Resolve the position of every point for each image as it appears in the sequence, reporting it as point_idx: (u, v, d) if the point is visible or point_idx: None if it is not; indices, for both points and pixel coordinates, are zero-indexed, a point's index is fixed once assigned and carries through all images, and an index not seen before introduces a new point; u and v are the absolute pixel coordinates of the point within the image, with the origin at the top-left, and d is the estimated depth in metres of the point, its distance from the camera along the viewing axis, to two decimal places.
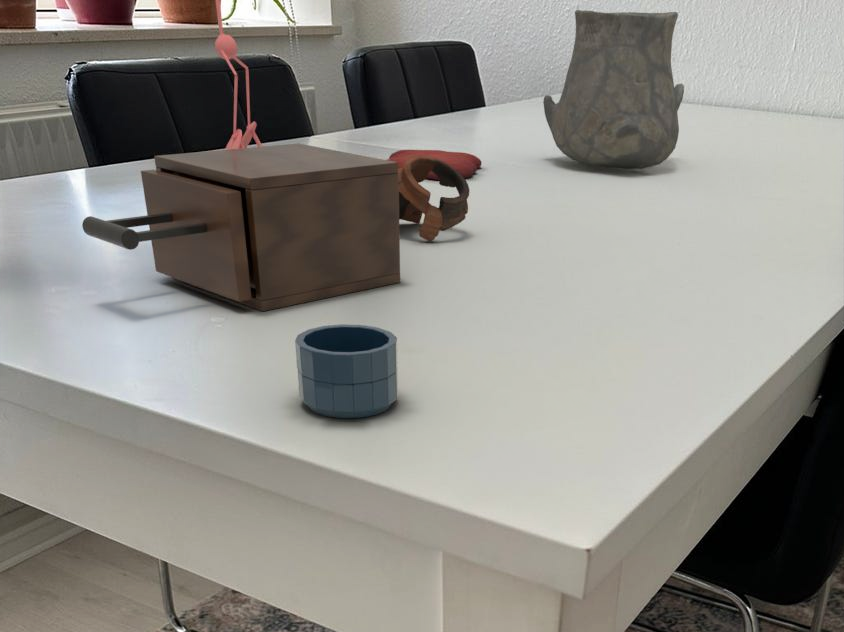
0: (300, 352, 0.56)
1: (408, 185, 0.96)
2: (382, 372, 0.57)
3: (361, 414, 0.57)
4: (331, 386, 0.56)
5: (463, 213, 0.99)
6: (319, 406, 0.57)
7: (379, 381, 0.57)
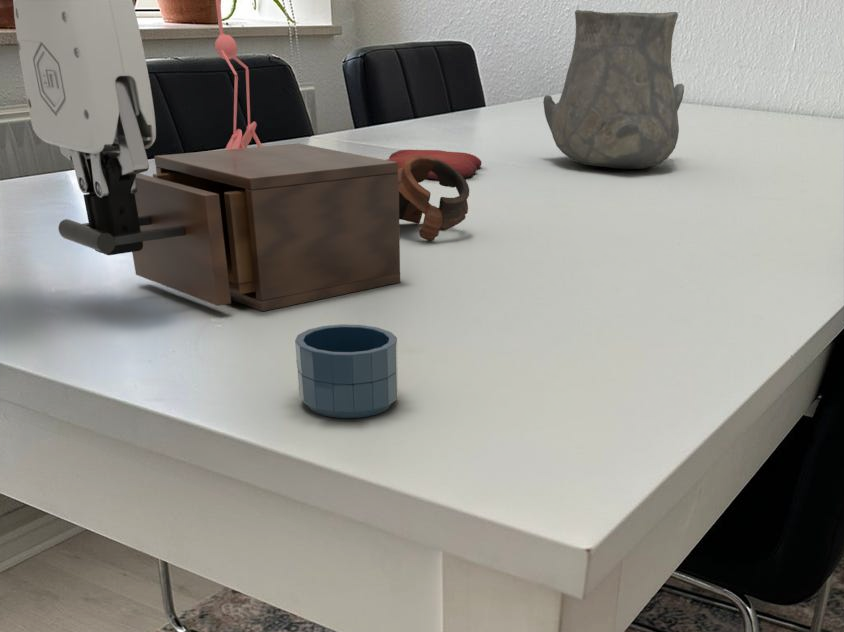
0: (300, 352, 0.56)
1: (408, 185, 0.96)
2: (382, 372, 0.57)
3: (361, 414, 0.57)
4: (331, 386, 0.56)
5: (463, 213, 0.99)
6: (319, 406, 0.57)
7: (379, 381, 0.57)
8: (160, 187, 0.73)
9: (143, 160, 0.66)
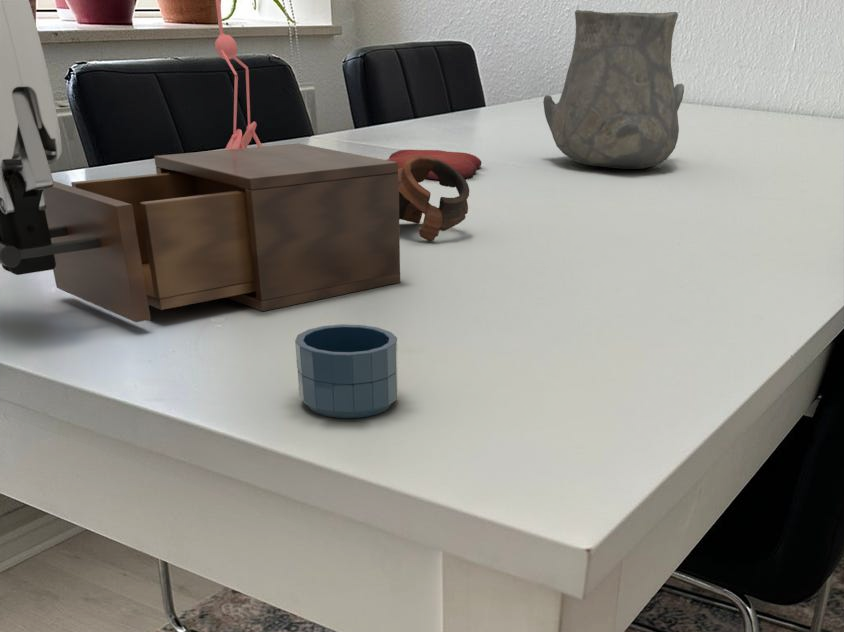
0: (300, 352, 0.56)
1: (408, 185, 0.96)
2: (382, 372, 0.57)
3: (361, 414, 0.57)
4: (331, 386, 0.56)
5: (463, 213, 0.99)
6: (319, 406, 0.57)
7: (379, 381, 0.57)
8: (73, 196, 0.68)
9: (47, 176, 0.62)
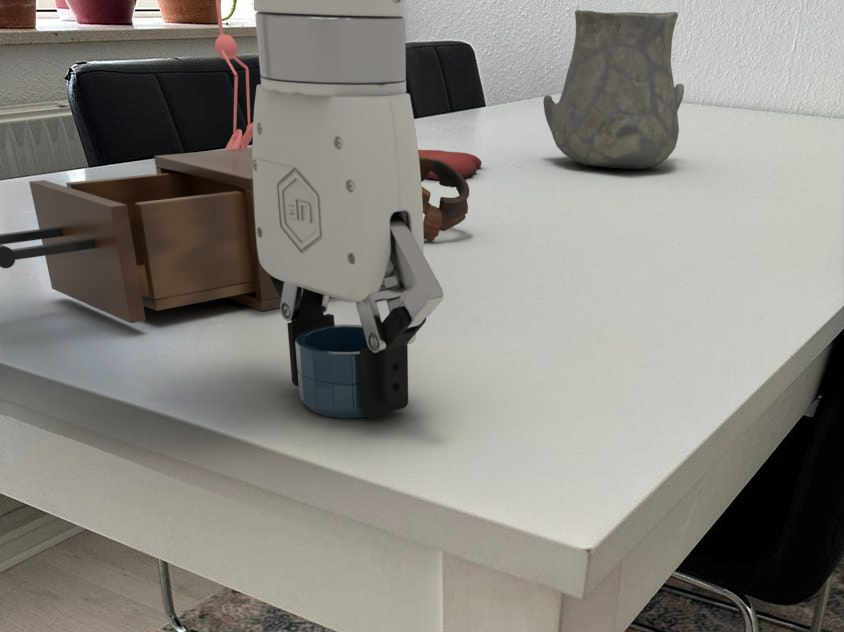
0: (300, 352, 0.56)
1: None
2: None
3: (361, 414, 0.57)
4: (331, 386, 0.56)
5: (463, 213, 0.99)
6: (319, 406, 0.57)
7: None
8: (68, 197, 0.68)
9: (436, 286, 0.51)
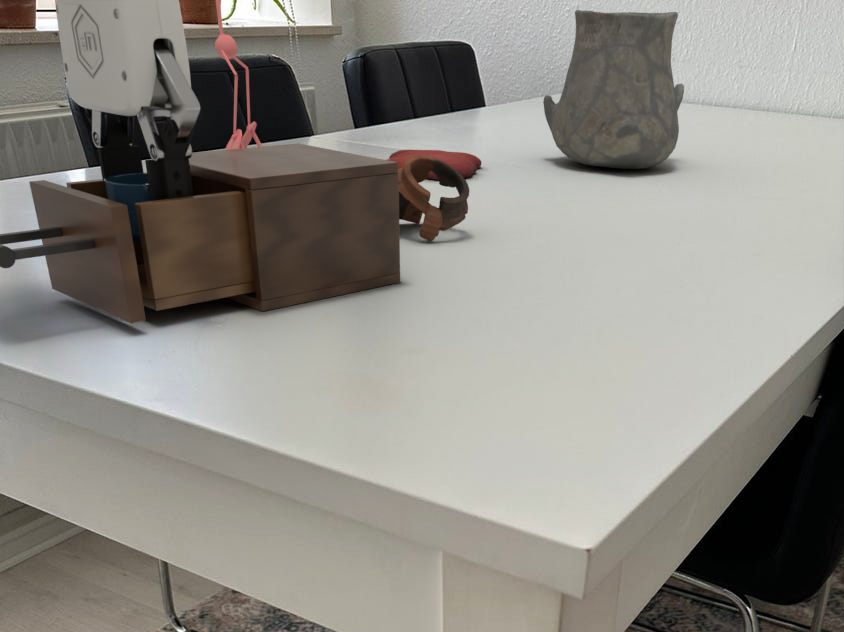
0: (106, 186, 0.70)
1: (408, 185, 0.96)
2: None
3: None
4: (130, 213, 0.70)
5: (463, 213, 0.99)
6: None
7: None
8: (68, 197, 0.68)
9: (193, 99, 0.64)
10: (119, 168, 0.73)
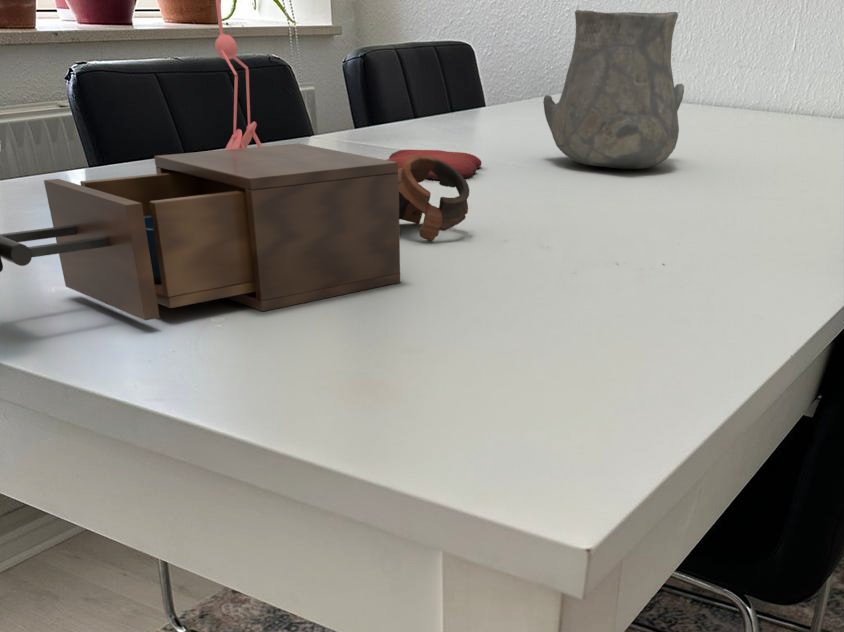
0: None
1: (408, 185, 0.96)
2: None
3: None
4: (151, 256, 0.73)
5: (463, 213, 0.99)
6: None
7: None
8: (83, 195, 0.69)
9: None
10: None
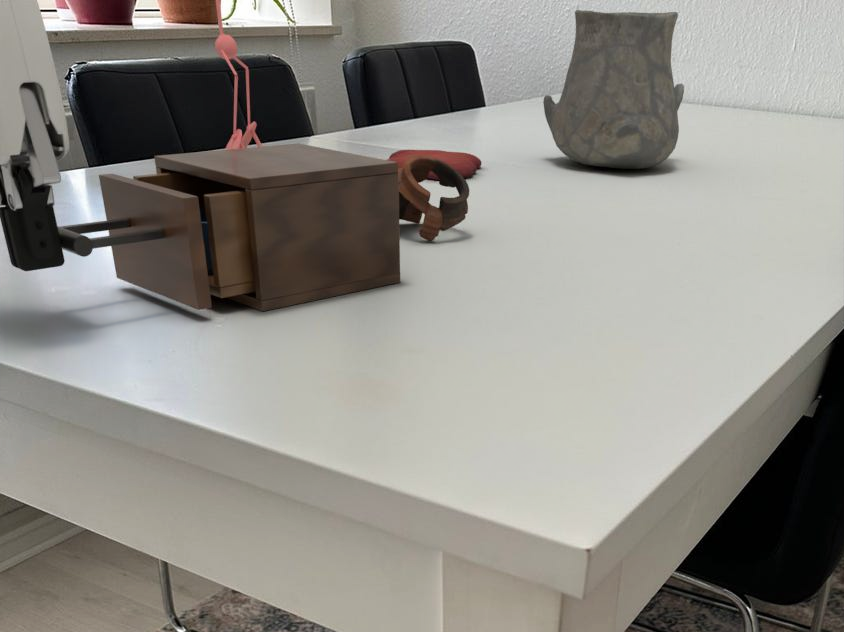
0: None
1: (408, 185, 0.96)
2: None
3: None
4: None
5: (463, 213, 0.99)
6: None
7: None
8: (139, 189, 0.71)
9: (54, 171, 0.62)
10: None
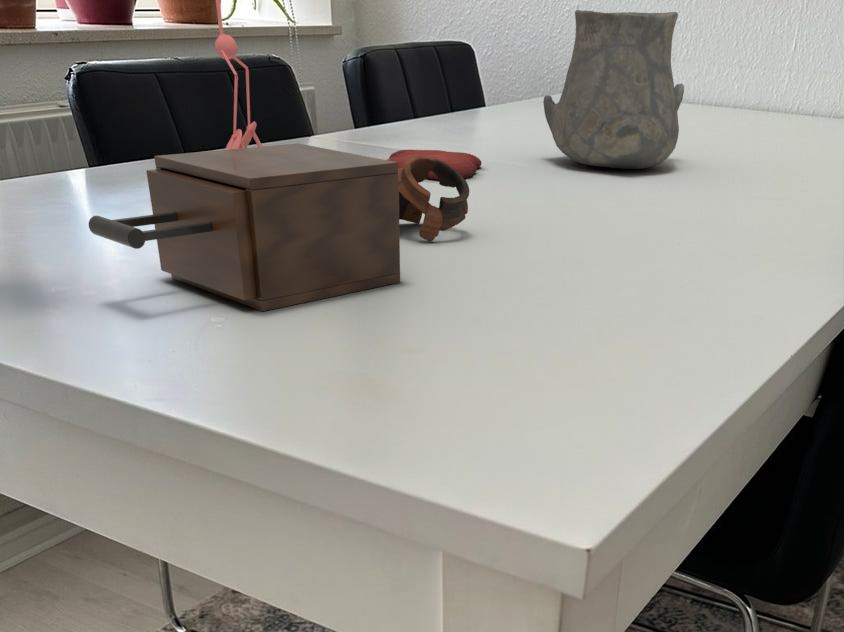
0: None
1: (408, 185, 0.96)
2: None
3: None
4: None
5: (463, 213, 0.99)
6: None
7: None
8: (188, 184, 0.74)
9: None
10: None
